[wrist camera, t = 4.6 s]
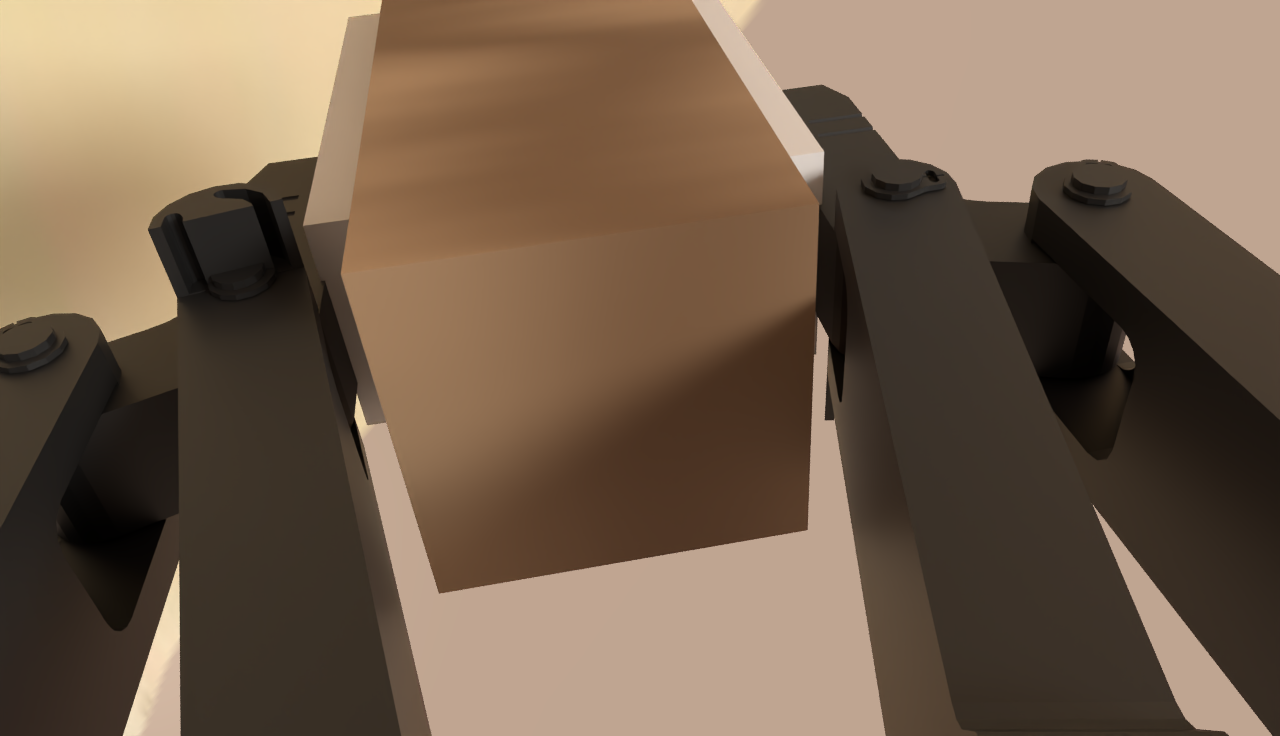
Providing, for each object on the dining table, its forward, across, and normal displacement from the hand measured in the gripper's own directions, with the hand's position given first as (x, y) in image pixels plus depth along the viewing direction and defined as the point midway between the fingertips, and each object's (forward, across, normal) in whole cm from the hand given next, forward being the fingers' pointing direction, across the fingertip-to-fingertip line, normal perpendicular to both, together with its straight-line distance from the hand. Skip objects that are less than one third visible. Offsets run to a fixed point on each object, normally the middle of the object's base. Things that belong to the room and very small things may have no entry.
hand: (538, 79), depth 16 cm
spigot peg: (0, 0, 0) cm, 0 cm away
